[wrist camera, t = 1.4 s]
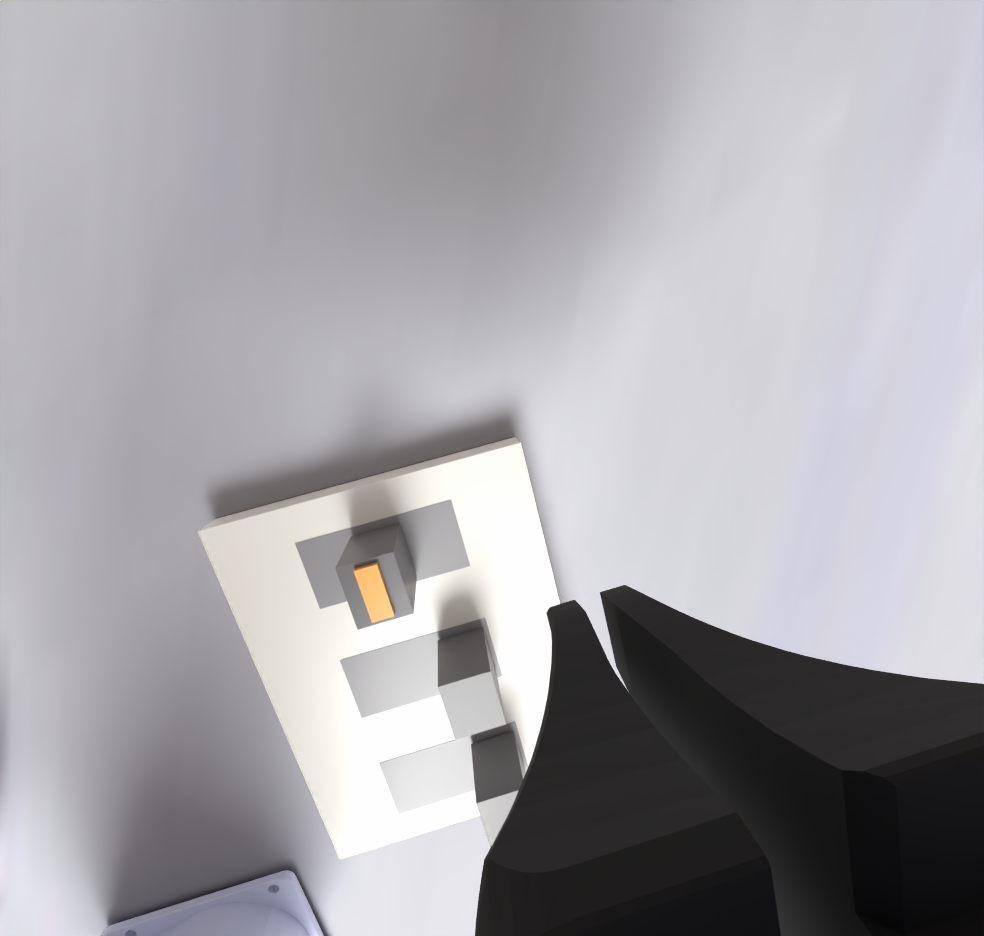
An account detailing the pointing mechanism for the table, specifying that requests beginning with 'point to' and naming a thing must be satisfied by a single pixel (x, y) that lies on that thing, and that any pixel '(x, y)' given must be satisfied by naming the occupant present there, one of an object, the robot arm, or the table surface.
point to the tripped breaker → (378, 576)
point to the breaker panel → (402, 642)
